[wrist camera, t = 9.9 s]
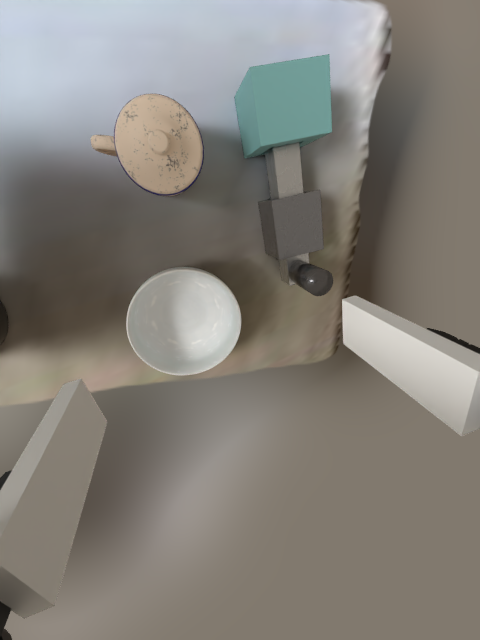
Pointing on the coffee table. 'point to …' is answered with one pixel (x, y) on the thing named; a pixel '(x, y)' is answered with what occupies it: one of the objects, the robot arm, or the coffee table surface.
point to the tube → (287, 183)
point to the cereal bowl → (183, 321)
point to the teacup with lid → (155, 144)
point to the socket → (284, 104)
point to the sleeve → (292, 225)
